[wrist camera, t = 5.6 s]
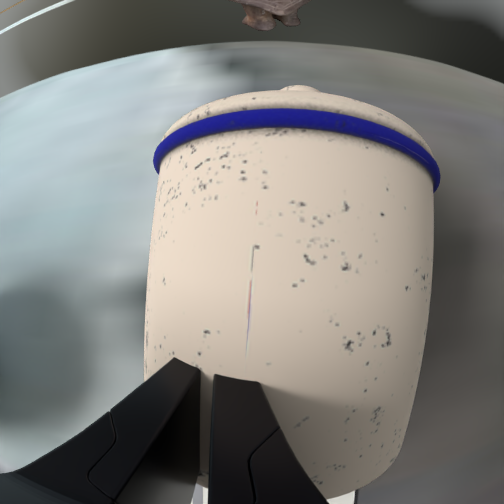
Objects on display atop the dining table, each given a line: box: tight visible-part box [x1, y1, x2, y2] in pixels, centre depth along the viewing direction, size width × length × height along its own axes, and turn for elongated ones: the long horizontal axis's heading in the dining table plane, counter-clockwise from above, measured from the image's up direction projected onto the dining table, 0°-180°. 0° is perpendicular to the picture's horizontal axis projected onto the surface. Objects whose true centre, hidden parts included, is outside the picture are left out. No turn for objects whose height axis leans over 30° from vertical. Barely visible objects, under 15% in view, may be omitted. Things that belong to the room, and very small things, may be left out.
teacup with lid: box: [144, 85, 440, 500], centre depth 11 cm, size 12×9×12 cm
